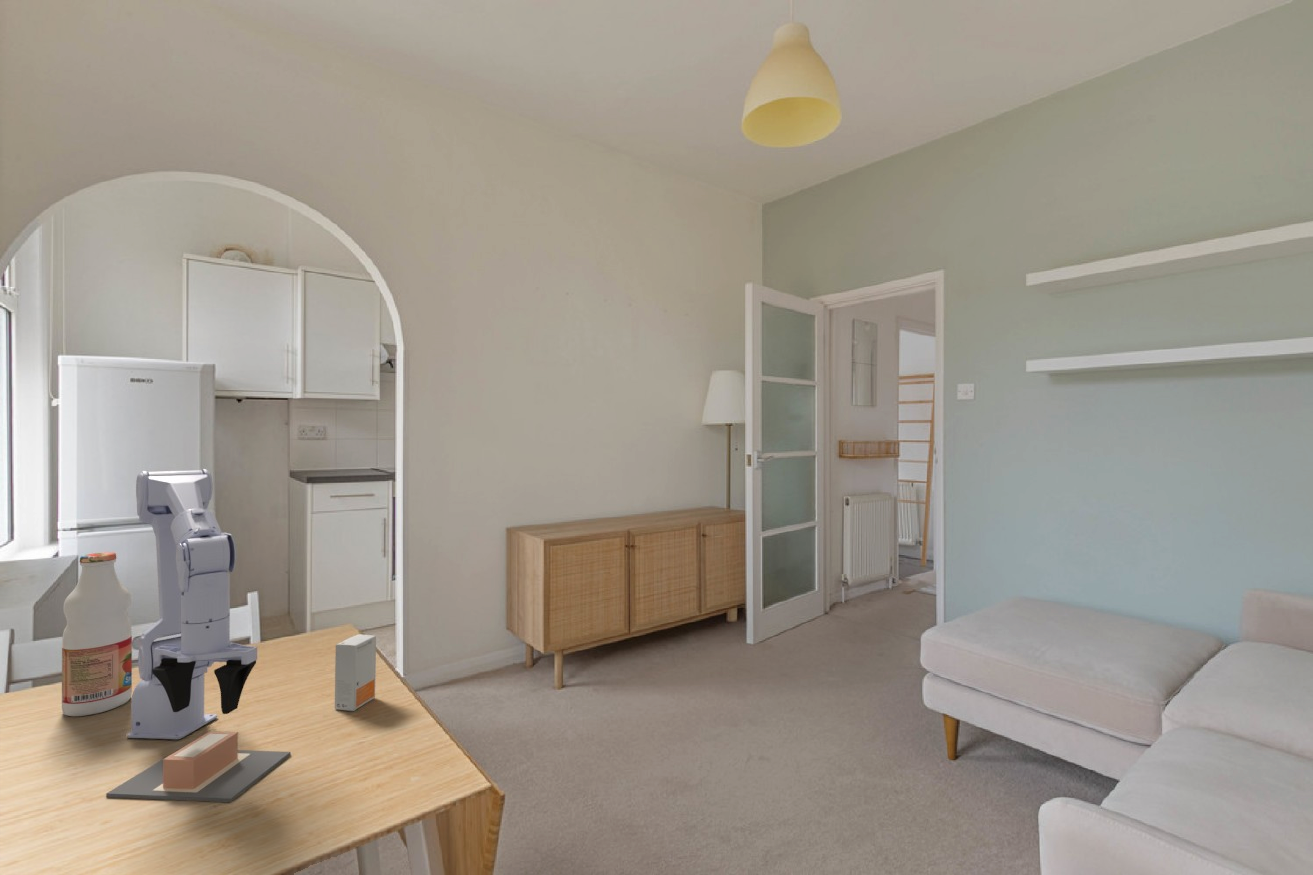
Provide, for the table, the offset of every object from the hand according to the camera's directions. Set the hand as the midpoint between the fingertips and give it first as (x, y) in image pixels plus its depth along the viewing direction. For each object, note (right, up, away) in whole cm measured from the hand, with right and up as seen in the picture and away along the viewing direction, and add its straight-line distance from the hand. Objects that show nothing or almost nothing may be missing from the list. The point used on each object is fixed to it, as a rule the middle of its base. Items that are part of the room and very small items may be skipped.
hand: (205, 709), depth 87 cm
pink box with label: (0, -9, -1) cm, 9 cm away
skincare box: (+10, -10, +23) cm, 27 cm away
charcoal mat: (0, -9, 0) cm, 9 cm away
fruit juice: (-37, -10, +22) cm, 44 cm away
